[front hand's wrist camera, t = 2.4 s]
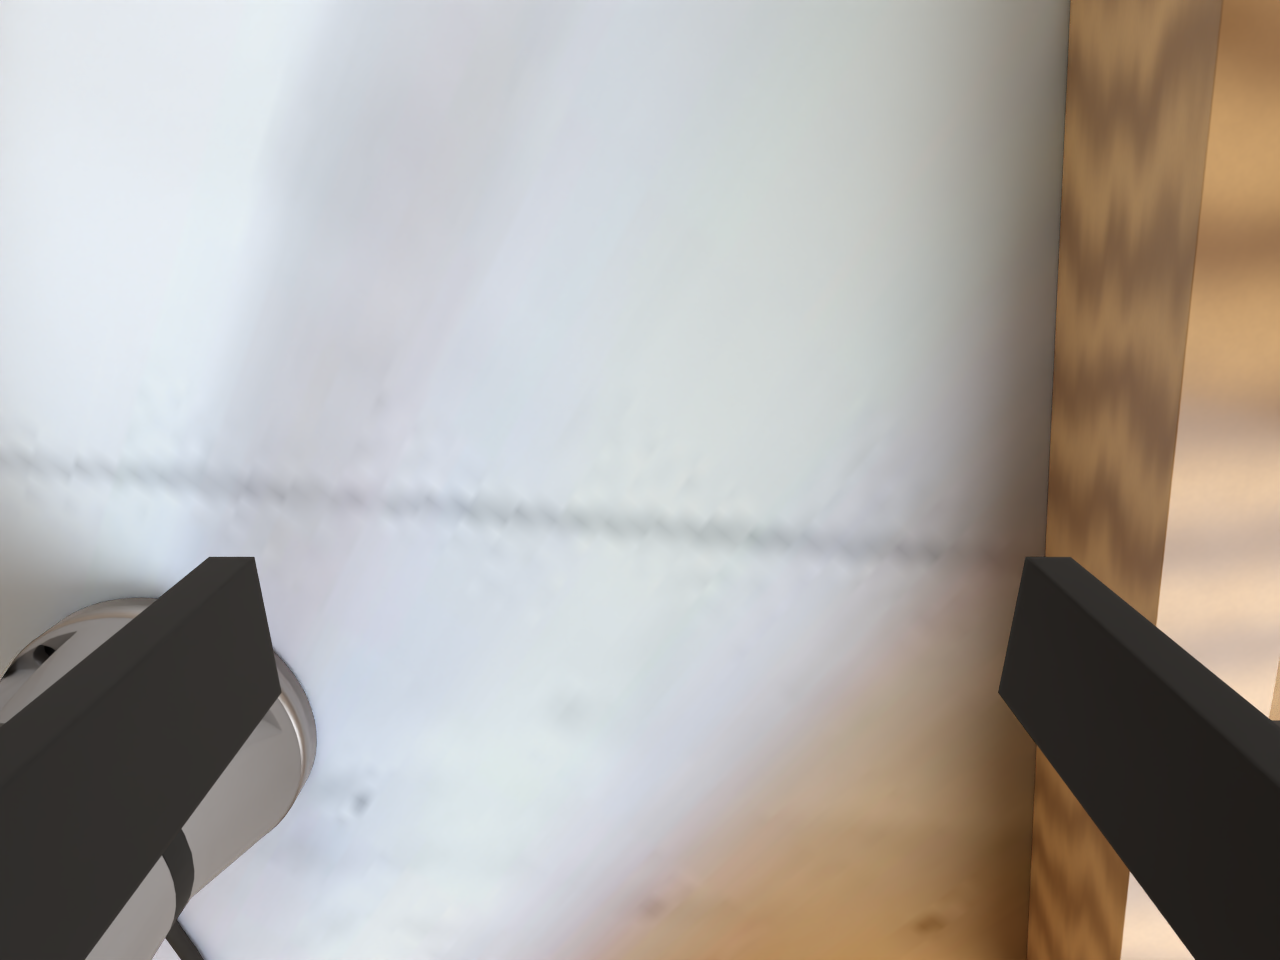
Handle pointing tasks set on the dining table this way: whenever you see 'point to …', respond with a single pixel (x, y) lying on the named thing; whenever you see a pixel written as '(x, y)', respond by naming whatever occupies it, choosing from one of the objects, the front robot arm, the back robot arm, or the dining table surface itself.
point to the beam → (1163, 388)
